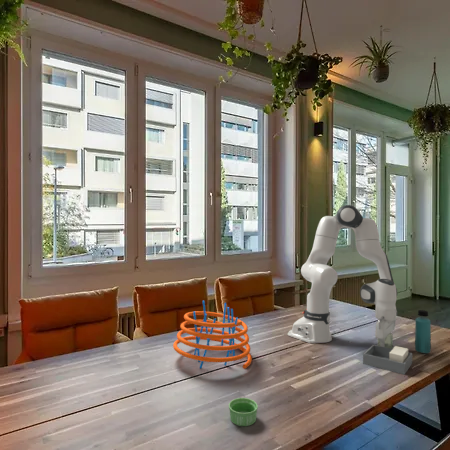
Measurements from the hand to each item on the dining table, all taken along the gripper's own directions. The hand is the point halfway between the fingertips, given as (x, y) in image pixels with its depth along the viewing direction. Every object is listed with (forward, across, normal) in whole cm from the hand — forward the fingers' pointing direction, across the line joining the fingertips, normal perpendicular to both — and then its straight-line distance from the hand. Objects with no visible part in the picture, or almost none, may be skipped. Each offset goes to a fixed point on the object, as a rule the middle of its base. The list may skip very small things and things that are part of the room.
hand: (385, 343), depth 163 cm
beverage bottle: (+4, +9, -14) cm, 17 cm away
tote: (+4, -15, -5) cm, 16 cm away
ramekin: (+4, -86, +19) cm, 88 cm away
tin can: (+4, 0, 0) cm, 4 cm away
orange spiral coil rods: (+4, -58, +56) cm, 81 cm away
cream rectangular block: (+3, -15, -9) cm, 18 cm away
